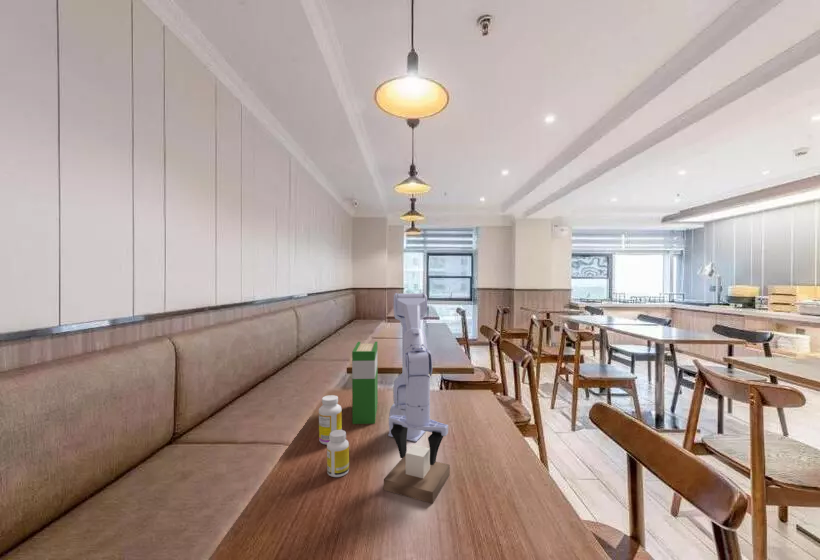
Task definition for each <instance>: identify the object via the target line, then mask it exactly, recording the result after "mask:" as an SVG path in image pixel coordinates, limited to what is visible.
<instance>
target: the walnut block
mask: <svg viewBox="0 0 820 560" xmlns="http://www.w3.org/2000/svg"><path fill="white" fill-rule="evenodd" d="M450 465H451V464H450V463H449V464H447V463H445V462H444V463H443V462H439V461H436V462H435V463H434V465H430V470H429V471H428V473H427V474H426V476H425V477H424V478H419V477H415V476H411V475H407V474H406V455H405V456H404V458H400V460H399V461H398V462H397V464H396V465H395V466H394V467H393V468H392V469H391V470H390V472H388V474H387V475H385V477H384V478H383V490H384V491H386V492H390V493H394V494H398V495H401V496H404V497H407V498H411V499H414V500H417V501H418V500H419V501H421V500H422V502H425V503H428V504H434V503H435V501H436V499H437V497H439V496H438V495H439V494H440V492H441V491H442V489H443V487H444V486H445V484H446V482H447V480H448V478H449V476H450V474H451V471H450V469H451V467H450Z"/></svg>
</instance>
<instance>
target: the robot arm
mask: <svg viewBox="0 0 820 560" xmlns="http://www.w3.org/2000/svg"><path fill="white" fill-rule="evenodd" d="M427 312H428V296H427V294H426V293H425V292H422V293H416V292H415V293H413V292H412V293H411V292H410V293H398V292H395V293H394V294H393V316H394V319H395V320H397V321H399V322H400V324H401V328H402V330H401V333H402V334H401V336H402V338H401V339H402V340H401V341H402V343H401V344H402V347H401V348H402V349H401V352H402V363H401V365H402V373H400V374H399V375H398V376H397V377H395V378H394V381H393V388H392V389H393V390H392V391H393V396H392V397H393V404H392V405H391V407H390V410H389V417H388V430H389V431H388V435H387V436H388V437H391V438H393V439H394V441H395V443H396V446H397V449H398V453H399V458H400V459H402V458H404V456H405V455H406V452H407V451H408V450H407V449H408V448H407V445H408V444H407V441H411V442H418V441H419V440H420V438H421V437H422V436H423V435H424V434H425V433H426V432H428V433H431V434H430V435H429V436H428V437H427V440H428V445H429V447H428V448H430V465H434V463H435V462H437V456H438V452H439V449H440V446H441V443H442V441H443V438H444V437H446V436H447V435H448V434H449V424H445V423H442V422H439V421H436V420H434V419H431V412H430V411H431V408H430V407H431V406H430V405H431V401H430V400H431V397H430V396H431V392H430V391H431V379H430V377H432V375H433V358H432V357H433V356H432V352H431V350H430V348H428V342H427V335H426V332H425V331H424V330H423V329H421V320H423V319H424V318H425V317H426V314H427Z"/></svg>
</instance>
